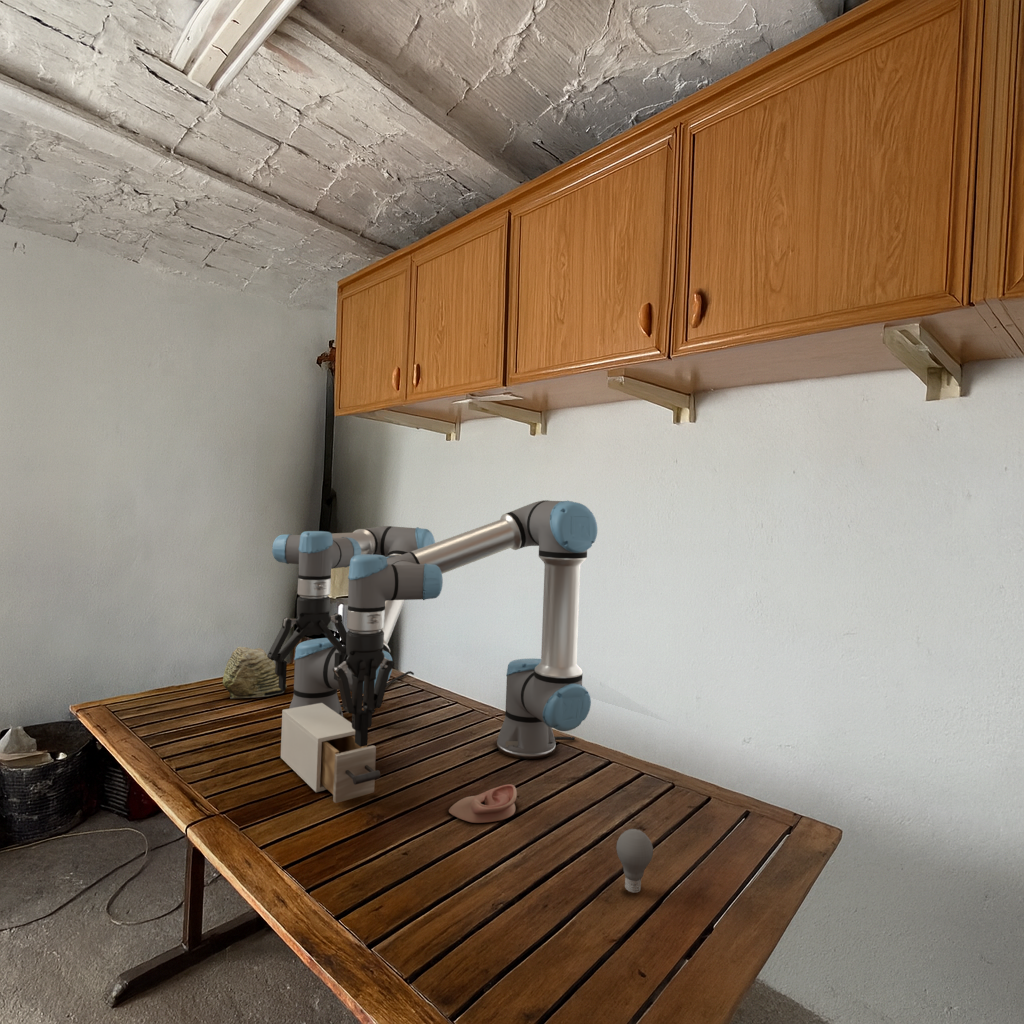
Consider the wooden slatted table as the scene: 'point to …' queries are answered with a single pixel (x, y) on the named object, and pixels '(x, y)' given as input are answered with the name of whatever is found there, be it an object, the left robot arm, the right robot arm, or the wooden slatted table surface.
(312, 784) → the cabinet
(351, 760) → the drawer
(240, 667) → the fossil
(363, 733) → the right robot arm
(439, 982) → the wooden slatted table surface
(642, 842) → the light bulb
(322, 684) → the left robot arm
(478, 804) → the anatomical model
